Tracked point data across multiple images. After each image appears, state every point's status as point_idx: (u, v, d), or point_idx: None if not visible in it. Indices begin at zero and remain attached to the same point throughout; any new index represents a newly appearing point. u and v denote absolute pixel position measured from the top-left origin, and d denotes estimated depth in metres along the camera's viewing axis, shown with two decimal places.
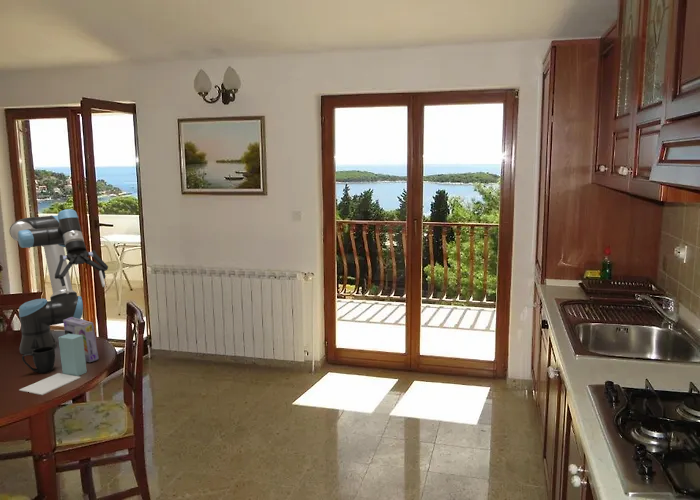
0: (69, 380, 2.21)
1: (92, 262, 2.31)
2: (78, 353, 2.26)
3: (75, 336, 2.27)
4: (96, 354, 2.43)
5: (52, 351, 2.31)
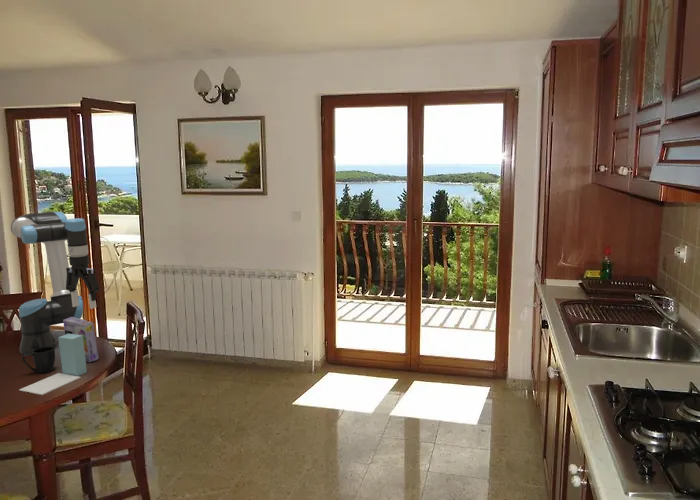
0: (69, 380, 2.21)
1: (85, 282, 2.31)
2: (78, 353, 2.26)
3: (75, 336, 2.27)
4: (96, 354, 2.43)
5: (52, 351, 2.31)
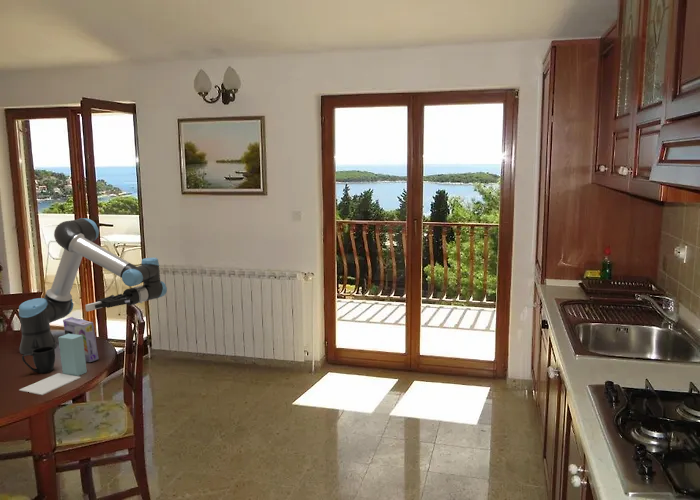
0: (69, 380, 2.21)
1: None
2: (78, 353, 2.26)
3: (75, 336, 2.27)
4: (96, 354, 2.43)
5: (52, 351, 2.31)
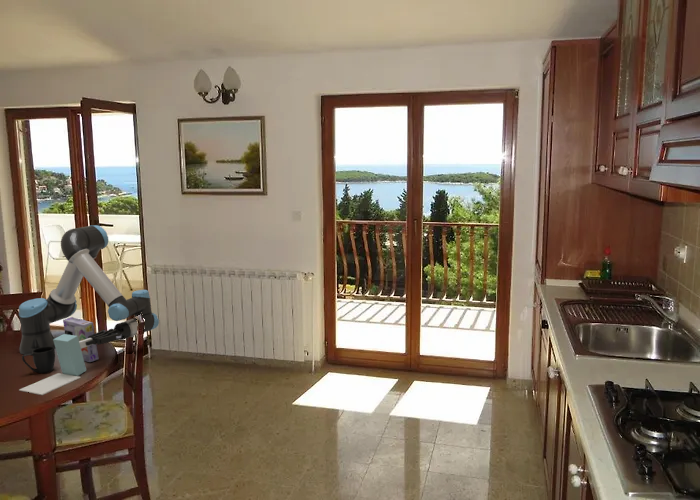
0: (69, 380, 2.21)
1: None
2: (75, 354, 2.25)
3: (70, 337, 2.24)
4: (96, 354, 2.43)
5: (52, 351, 2.31)
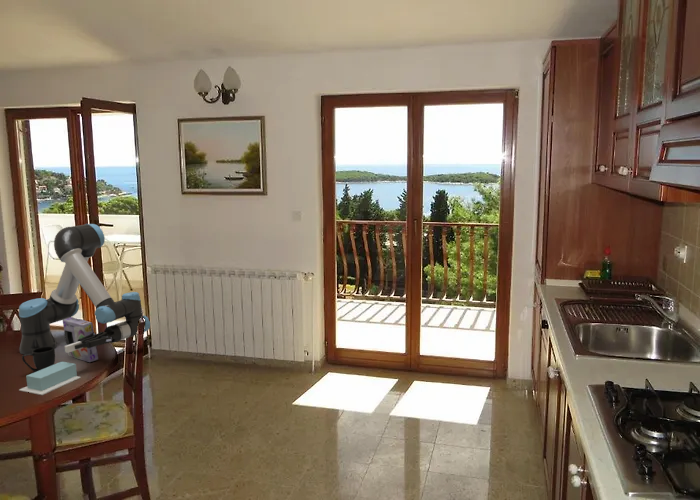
0: (69, 380, 2.21)
1: None
2: (57, 378, 2.17)
3: (37, 382, 2.12)
4: (96, 354, 2.43)
5: (52, 351, 2.31)
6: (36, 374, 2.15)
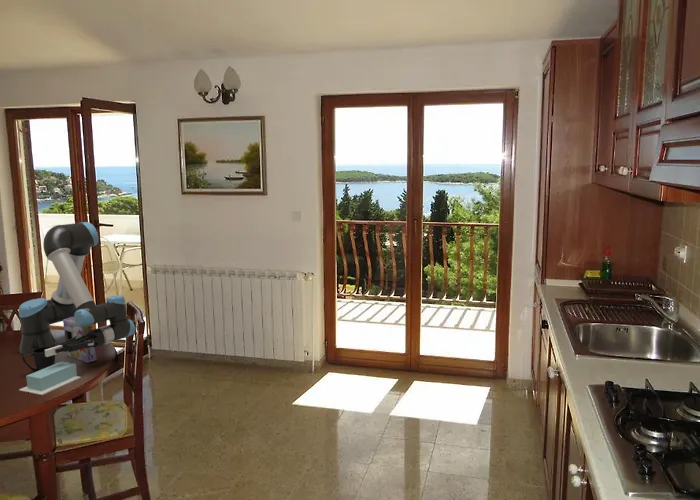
0: (69, 380, 2.21)
1: None
2: (57, 378, 2.17)
3: (37, 382, 2.12)
4: (94, 355, 2.42)
5: None
6: (36, 374, 2.15)
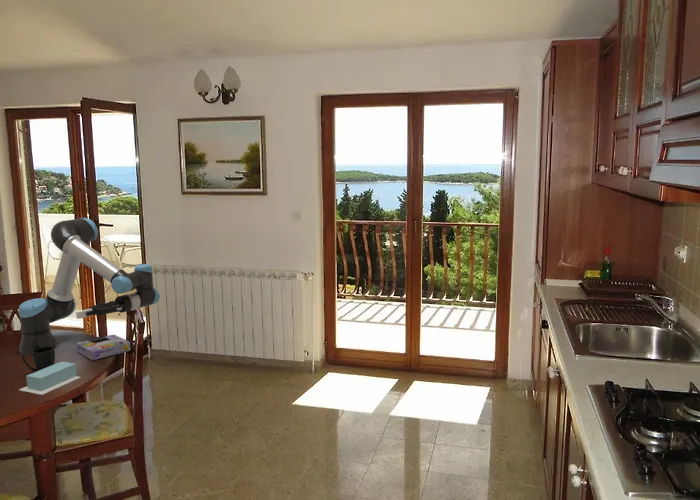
0: (69, 380, 2.21)
1: None
2: (57, 378, 2.17)
3: (37, 382, 2.12)
4: (98, 357, 2.44)
5: (52, 351, 2.31)
6: (36, 374, 2.15)
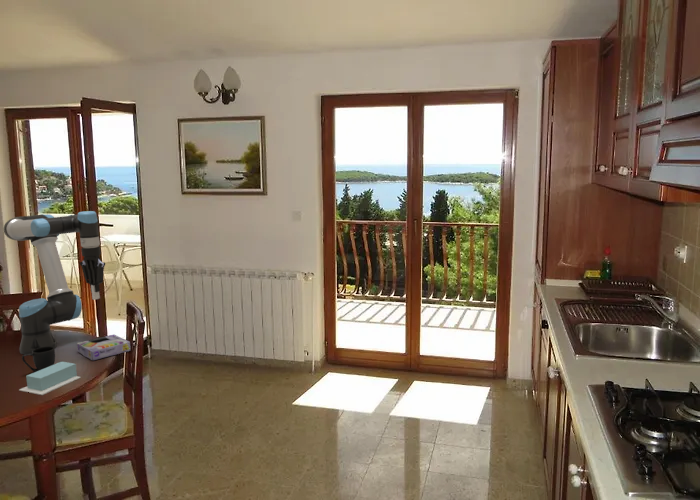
0: (69, 380, 2.21)
1: (93, 273, 2.42)
2: (57, 378, 2.17)
3: (37, 382, 2.12)
4: (98, 357, 2.44)
5: (52, 351, 2.31)
6: (36, 374, 2.15)
